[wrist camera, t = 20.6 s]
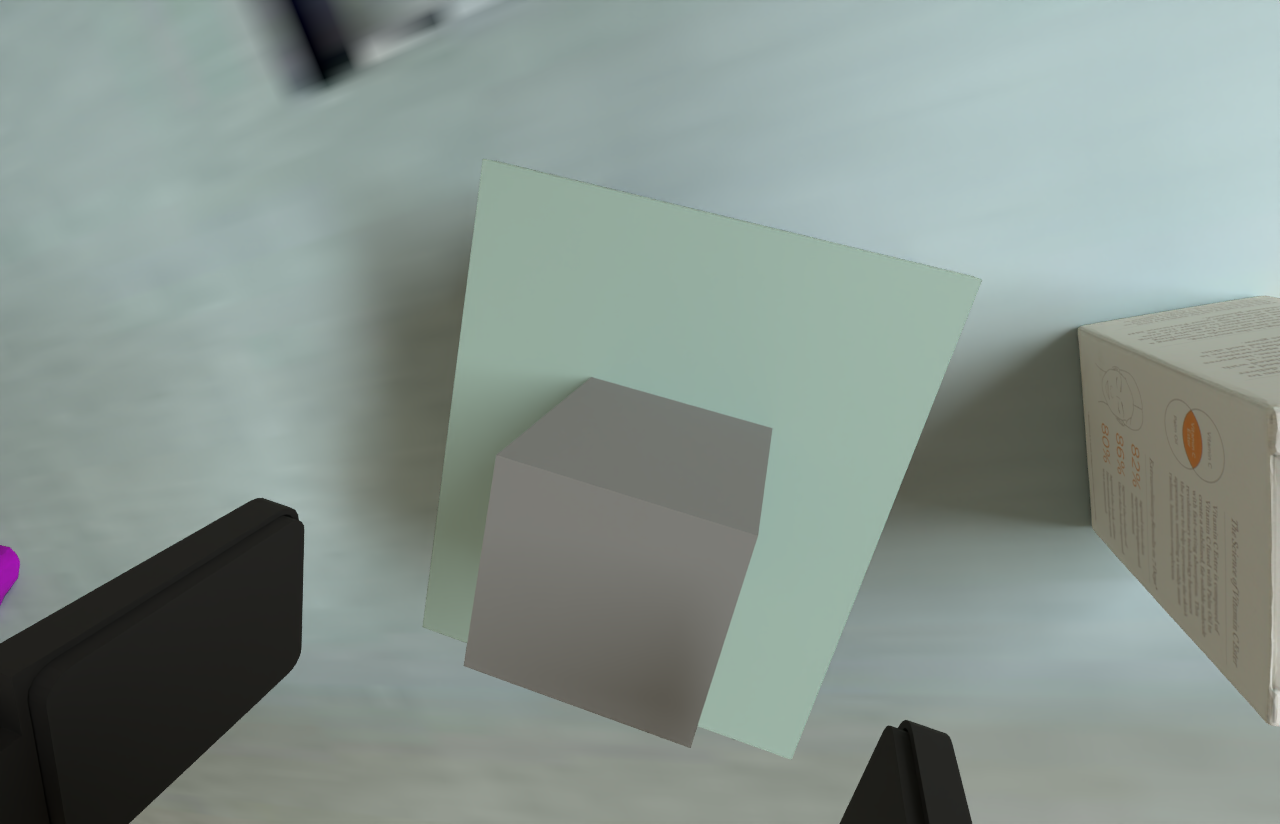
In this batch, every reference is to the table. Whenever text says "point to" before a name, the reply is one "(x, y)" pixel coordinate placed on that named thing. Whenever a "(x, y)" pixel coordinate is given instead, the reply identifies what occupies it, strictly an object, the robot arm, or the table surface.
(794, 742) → the lid
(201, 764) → the table surface
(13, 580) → the cloth
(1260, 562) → the small box
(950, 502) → the table surface
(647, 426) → the block
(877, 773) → the robot arm
